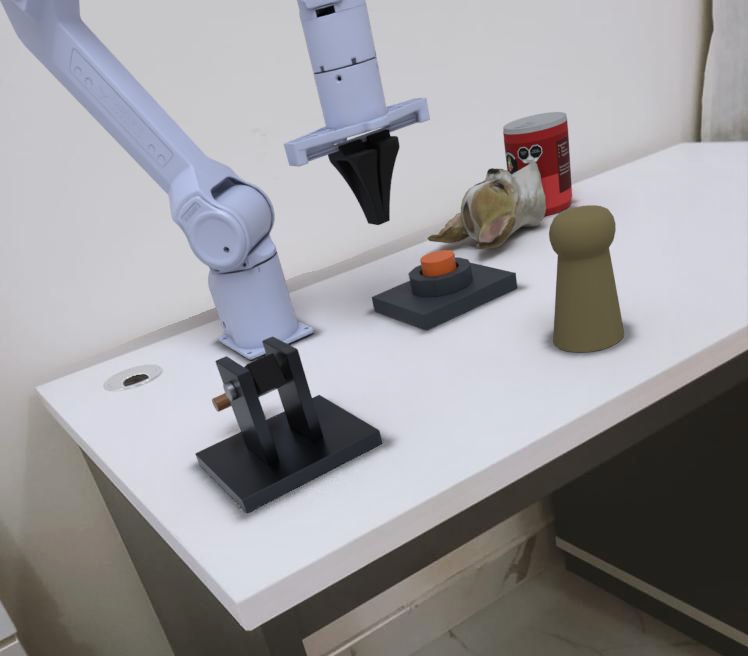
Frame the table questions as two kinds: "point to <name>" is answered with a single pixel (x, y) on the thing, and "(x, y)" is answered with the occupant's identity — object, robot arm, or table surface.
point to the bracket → (281, 434)
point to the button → (438, 263)
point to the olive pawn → (585, 280)
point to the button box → (443, 294)
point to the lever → (258, 379)
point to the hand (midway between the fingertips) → (378, 222)
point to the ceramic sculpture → (497, 208)
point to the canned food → (542, 154)
